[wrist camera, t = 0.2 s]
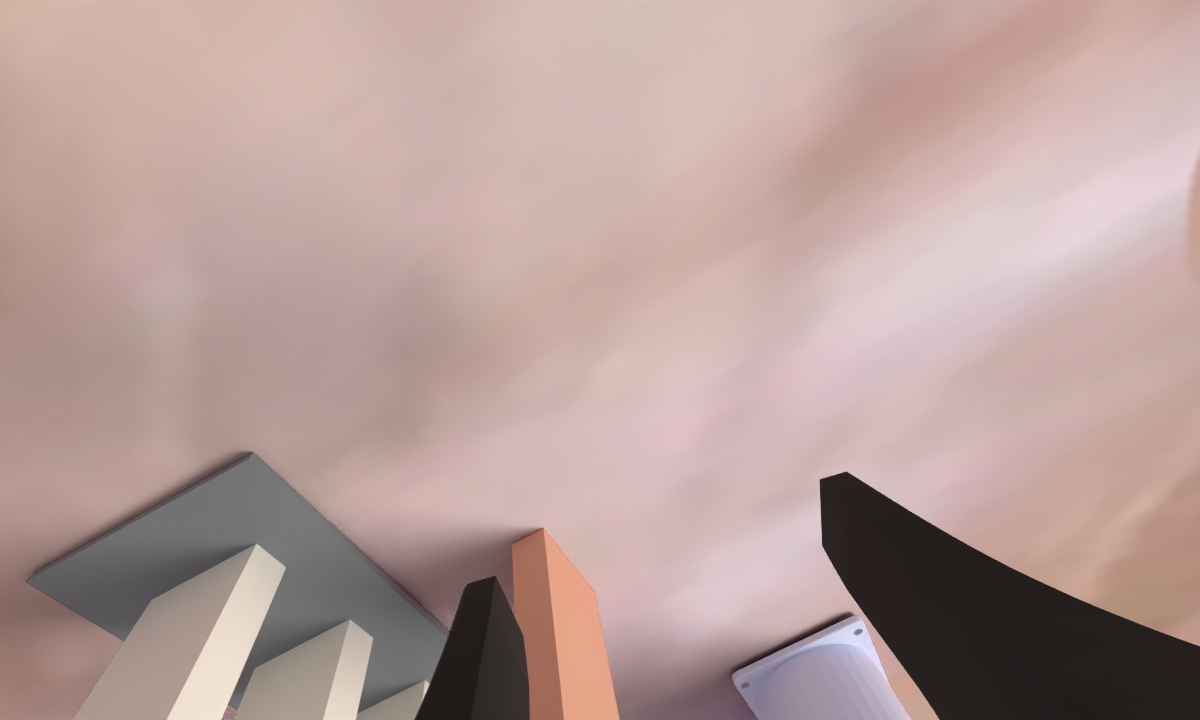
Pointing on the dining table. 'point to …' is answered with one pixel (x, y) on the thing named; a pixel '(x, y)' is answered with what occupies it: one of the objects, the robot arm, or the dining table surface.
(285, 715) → the domino
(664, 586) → the dining table surface
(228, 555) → the slate mat
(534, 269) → the dining table surface
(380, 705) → the domino
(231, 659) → the domino
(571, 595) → the terracotta domino
